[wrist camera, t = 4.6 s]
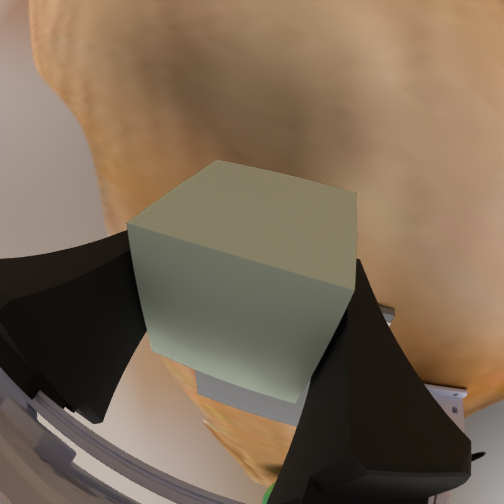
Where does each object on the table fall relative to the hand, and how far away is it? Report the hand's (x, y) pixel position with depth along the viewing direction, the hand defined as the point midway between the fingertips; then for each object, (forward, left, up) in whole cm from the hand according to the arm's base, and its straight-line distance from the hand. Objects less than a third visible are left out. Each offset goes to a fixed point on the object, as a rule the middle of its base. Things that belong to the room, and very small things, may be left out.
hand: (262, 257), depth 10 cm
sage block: (0, 0, -2) cm, 2 cm away
